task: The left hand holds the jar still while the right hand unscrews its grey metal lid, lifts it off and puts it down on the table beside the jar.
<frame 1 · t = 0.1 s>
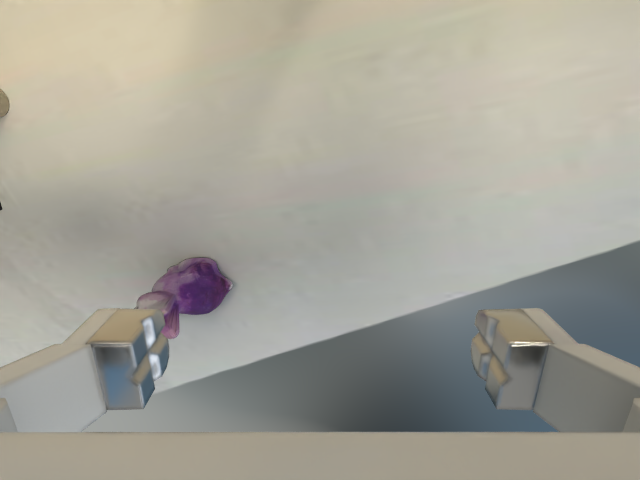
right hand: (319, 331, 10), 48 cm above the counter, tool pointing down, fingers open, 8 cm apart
figurine: (195, 280, 63), on the counter
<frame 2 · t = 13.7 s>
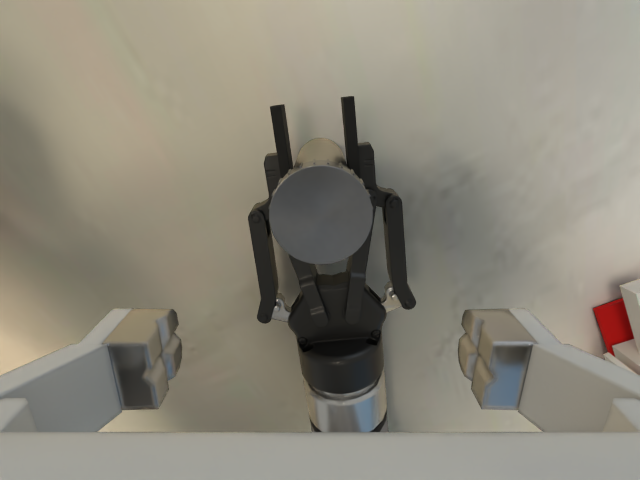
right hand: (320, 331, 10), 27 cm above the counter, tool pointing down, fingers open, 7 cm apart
left hand: (312, 101, 28), fingers closed on jar, 4 cm apart
lid: (320, 215, 20), point 17 cm above the counter, screwed on, not yet turned
jar: (320, 161, 36), on the counter, touching left hand
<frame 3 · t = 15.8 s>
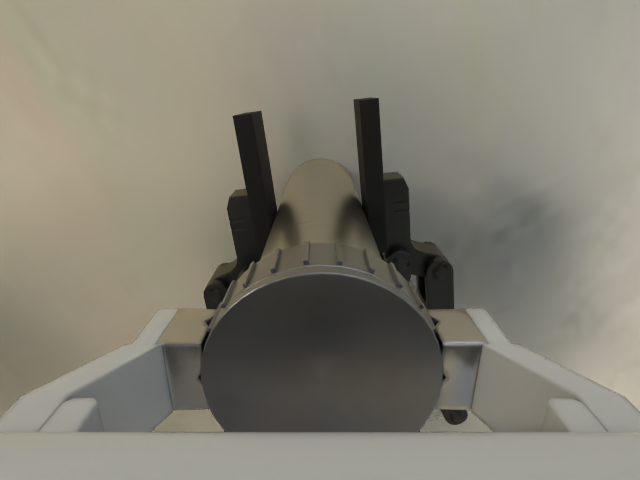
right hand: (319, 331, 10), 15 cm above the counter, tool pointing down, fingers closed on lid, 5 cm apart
lid: (321, 371, 9), point 17 cm above the counter, screwed on, not yet turned, touching right hand
jar: (320, 192, 25), on the counter, touching left hand
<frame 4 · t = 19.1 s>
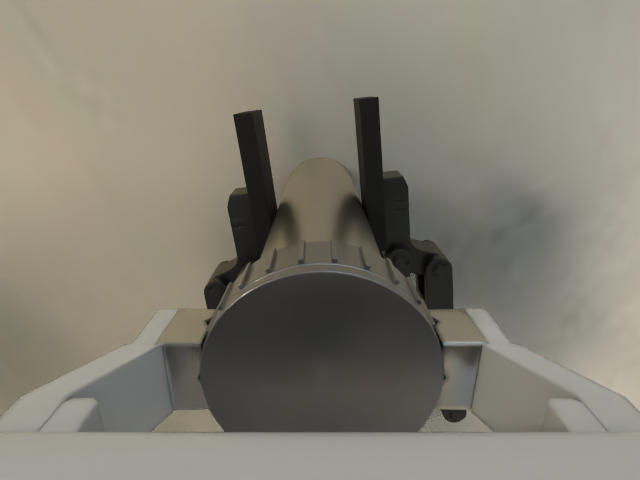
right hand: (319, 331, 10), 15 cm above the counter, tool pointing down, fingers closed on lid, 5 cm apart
lid: (321, 371, 9), point 17 cm above the counter, turned 92° so far, risen 0.1 cm, still on its thread, touching right hand
jar: (320, 191, 25), on the counter, touching left hand
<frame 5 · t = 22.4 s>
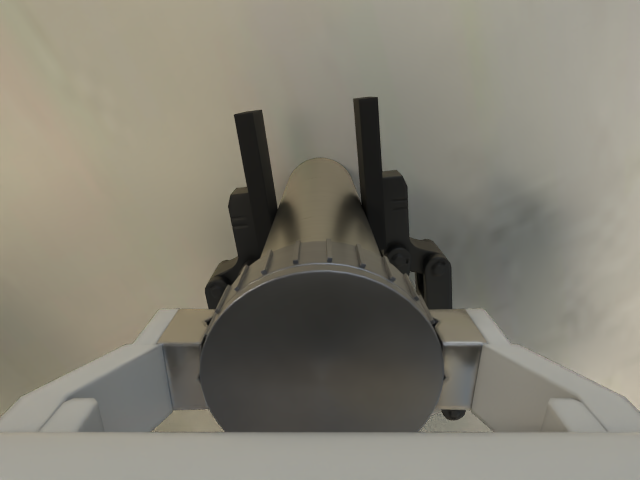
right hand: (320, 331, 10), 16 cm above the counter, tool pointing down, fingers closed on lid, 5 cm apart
lid: (321, 370, 9), point 17 cm above the counter, turned 184° so far, risen 0.3 cm, still on its thread, touching right hand
jar: (320, 191, 25), on the counter, touching left hand
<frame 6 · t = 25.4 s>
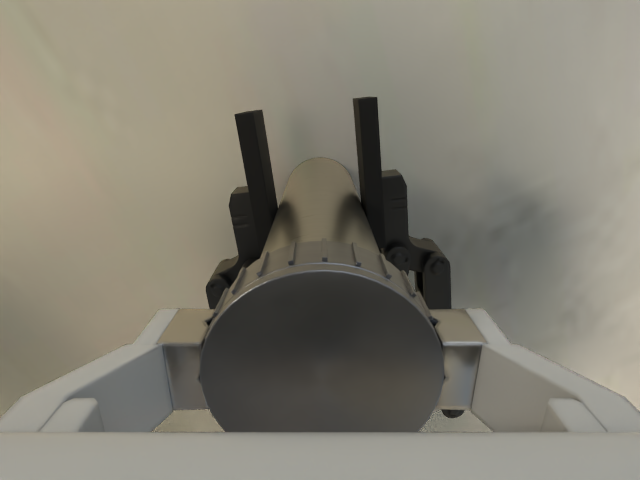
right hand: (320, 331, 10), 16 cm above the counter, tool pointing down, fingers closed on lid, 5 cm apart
lid: (321, 370, 9), point 17 cm above the counter, turned 277° so far, risen 0.4 cm, still on its thread, touching right hand
jar: (320, 191, 25), on the counter, touching left hand
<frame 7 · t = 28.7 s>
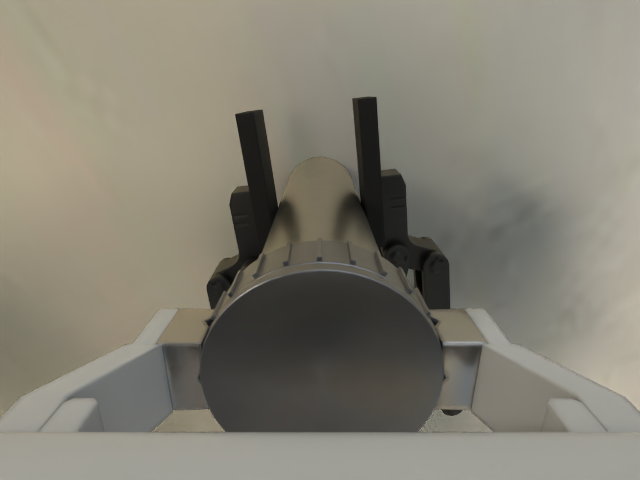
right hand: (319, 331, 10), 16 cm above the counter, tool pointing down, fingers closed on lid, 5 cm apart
lid: (321, 370, 9), point 18 cm above the counter, turned 369° so far, risen 0.6 cm, still on its thread, touching right hand
jar: (320, 190, 25), on the counter, touching left hand
when the right hand's fingers open (2 cm above the counter, at t = 38.9 s): lid drops 2 cm, point 1 cm above the counter.
when the left hand's fingers open (7 cm above the counter, at t = 39.8 s): jar stays where it is, on the counter.
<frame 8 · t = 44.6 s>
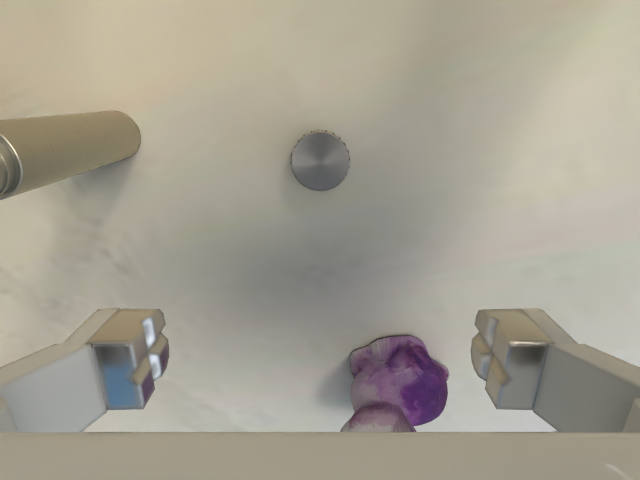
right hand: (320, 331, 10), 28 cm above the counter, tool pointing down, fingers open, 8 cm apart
lid: (320, 161, 35), point 1 cm above the counter, off its thread
figurine: (388, 364, 45), on the counter
jar: (117, 135, 36), on the counter
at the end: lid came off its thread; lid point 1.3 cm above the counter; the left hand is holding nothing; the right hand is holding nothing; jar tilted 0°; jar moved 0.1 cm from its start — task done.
